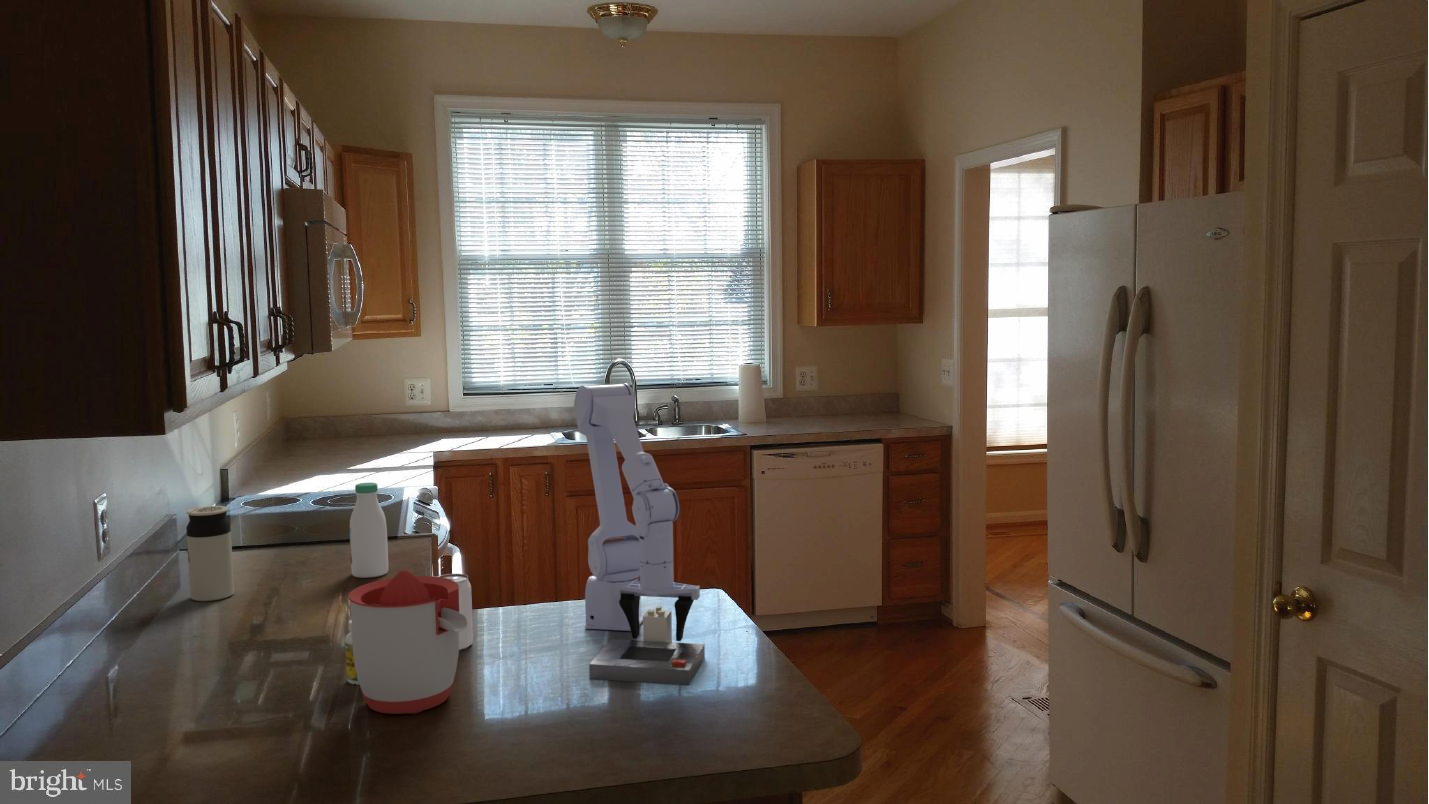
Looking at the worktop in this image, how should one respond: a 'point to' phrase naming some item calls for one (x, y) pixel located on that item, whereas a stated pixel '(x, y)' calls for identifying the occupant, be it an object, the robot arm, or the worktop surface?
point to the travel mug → (209, 554)
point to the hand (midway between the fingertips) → (657, 638)
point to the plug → (657, 625)
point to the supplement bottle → (350, 658)
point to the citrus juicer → (406, 641)
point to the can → (464, 607)
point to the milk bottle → (368, 534)
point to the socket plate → (647, 662)
